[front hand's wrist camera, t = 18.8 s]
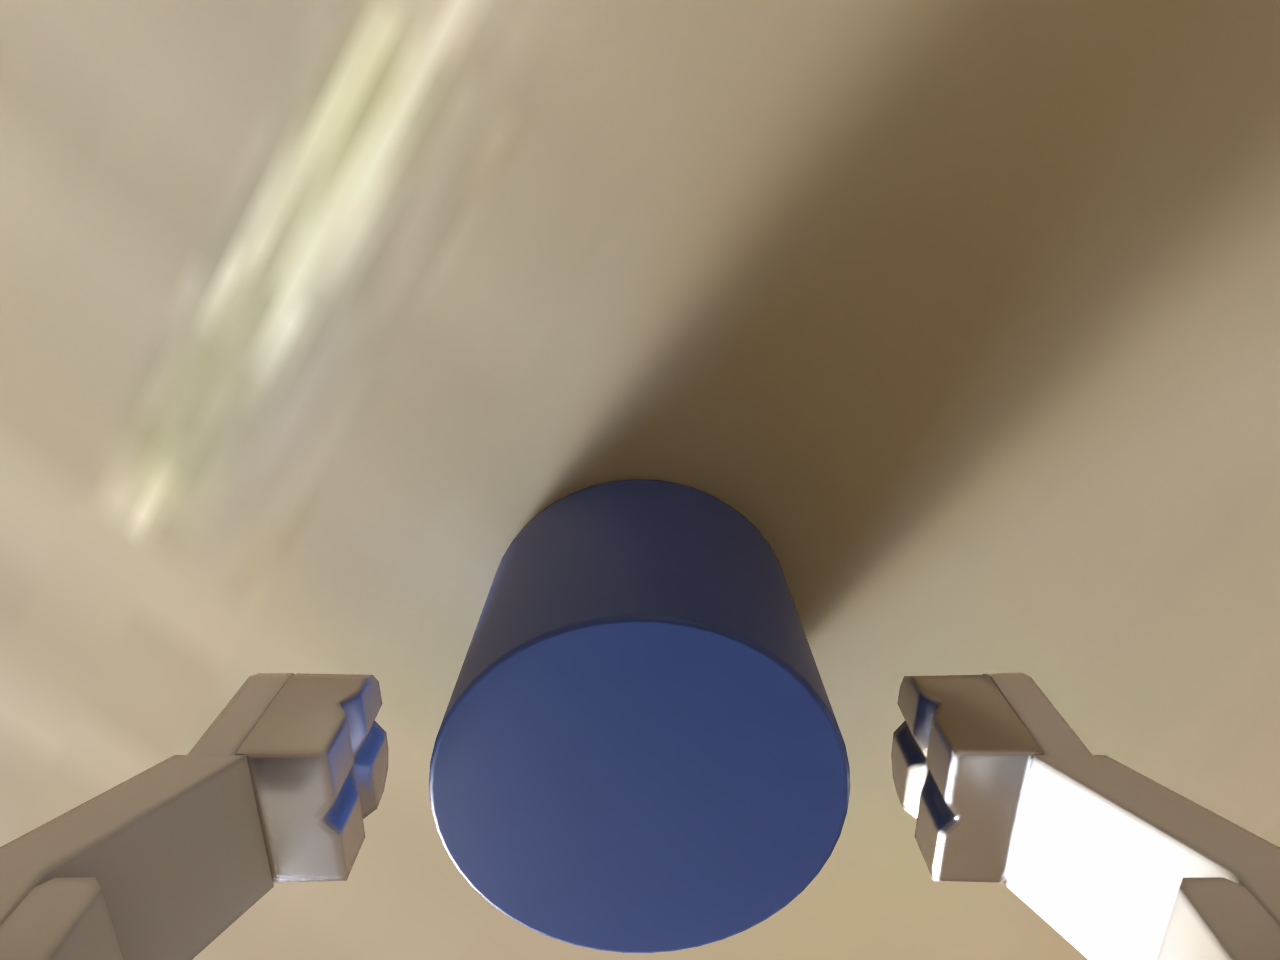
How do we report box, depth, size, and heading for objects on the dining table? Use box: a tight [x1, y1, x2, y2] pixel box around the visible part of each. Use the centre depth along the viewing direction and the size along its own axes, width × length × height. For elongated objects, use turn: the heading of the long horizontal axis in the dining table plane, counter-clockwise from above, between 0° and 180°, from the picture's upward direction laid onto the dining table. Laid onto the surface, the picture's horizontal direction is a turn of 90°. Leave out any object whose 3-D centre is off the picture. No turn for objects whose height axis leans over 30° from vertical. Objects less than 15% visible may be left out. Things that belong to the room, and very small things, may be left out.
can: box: [429, 480, 850, 953], centre depth 11 cm, size 5×5×4 cm
